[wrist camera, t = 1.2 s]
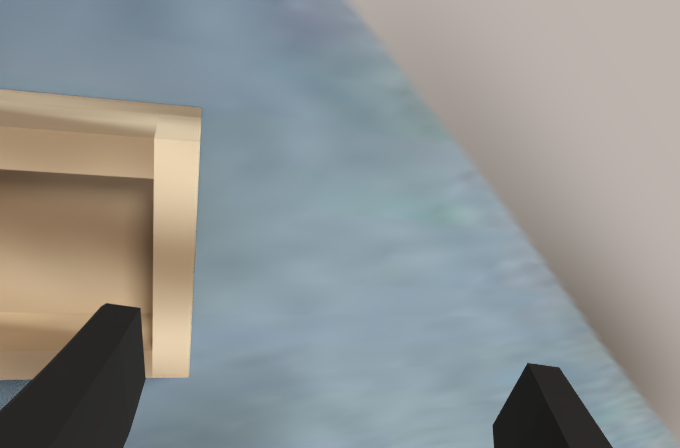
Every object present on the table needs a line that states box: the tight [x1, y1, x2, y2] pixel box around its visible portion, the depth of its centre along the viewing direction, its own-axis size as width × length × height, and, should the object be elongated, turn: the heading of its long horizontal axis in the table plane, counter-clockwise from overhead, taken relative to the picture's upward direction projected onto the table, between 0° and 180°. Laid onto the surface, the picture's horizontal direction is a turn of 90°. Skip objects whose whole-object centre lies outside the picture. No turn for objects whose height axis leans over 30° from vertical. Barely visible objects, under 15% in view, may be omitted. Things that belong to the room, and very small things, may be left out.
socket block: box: [0, 89, 202, 380], centre depth 19 cm, size 9×9×3 cm
